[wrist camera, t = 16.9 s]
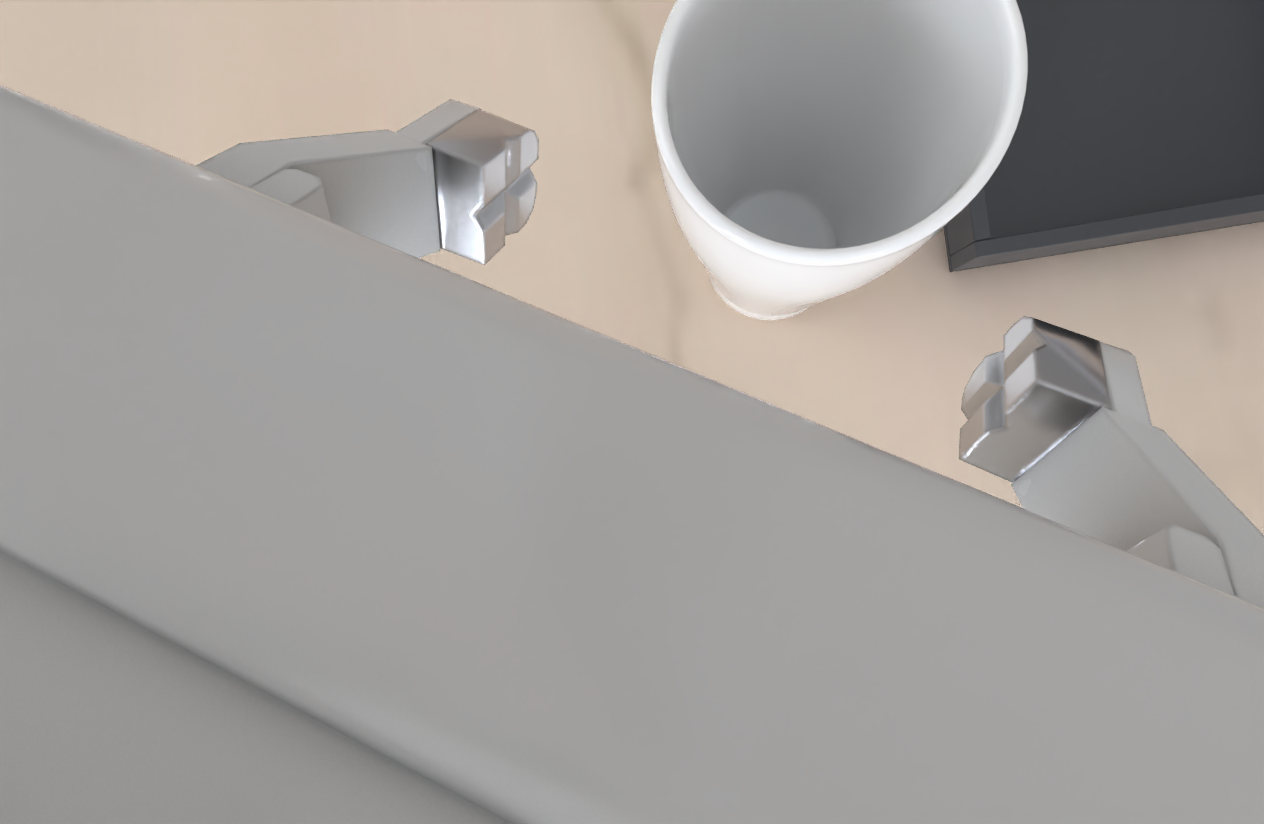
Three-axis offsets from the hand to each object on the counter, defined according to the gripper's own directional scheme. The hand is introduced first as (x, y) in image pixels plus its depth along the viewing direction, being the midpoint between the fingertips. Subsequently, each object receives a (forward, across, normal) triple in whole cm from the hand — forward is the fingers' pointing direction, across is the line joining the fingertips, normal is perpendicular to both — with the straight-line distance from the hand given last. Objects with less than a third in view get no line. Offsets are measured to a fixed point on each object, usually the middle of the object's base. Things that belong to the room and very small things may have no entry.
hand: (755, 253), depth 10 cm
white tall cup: (+14, 0, +9) cm, 17 cm away
